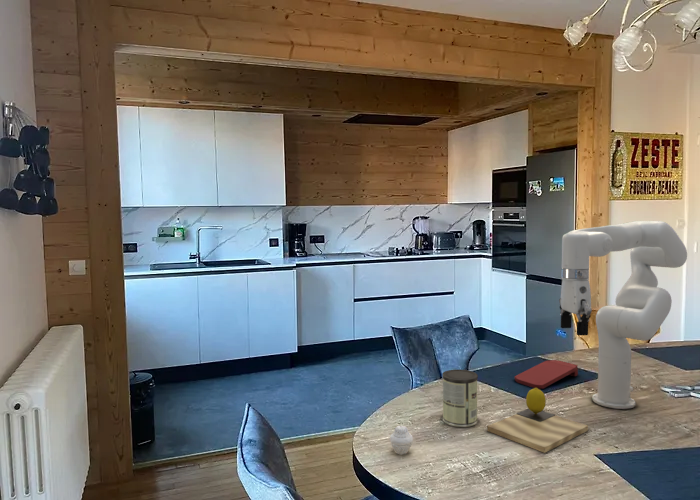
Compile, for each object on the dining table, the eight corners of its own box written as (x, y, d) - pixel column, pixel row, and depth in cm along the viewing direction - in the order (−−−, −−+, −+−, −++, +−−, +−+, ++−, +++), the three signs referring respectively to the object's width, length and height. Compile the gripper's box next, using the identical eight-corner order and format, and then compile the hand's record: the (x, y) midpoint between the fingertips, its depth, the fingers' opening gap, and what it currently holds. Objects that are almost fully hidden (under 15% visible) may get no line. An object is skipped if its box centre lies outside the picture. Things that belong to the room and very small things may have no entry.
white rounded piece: (396, 459, 135) (396, 432, 134) (385, 449, 140) (385, 423, 140) (417, 454, 137) (417, 427, 137) (405, 445, 143) (405, 419, 142)
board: (531, 412, 165) (531, 407, 165) (587, 430, 151) (587, 424, 151) (487, 431, 152) (487, 425, 151) (544, 453, 138) (544, 446, 137)
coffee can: (445, 412, 166) (445, 367, 165) (479, 416, 163) (479, 370, 162) (439, 424, 156) (439, 377, 155) (475, 429, 153) (475, 381, 152)
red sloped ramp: (541, 399, 187) (582, 376, 200) (540, 386, 186) (582, 363, 199) (513, 390, 197) (554, 368, 210) (512, 377, 196) (553, 356, 209)
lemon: (546, 418, 156) (547, 391, 156) (527, 416, 157) (527, 390, 157) (543, 411, 162) (544, 385, 161) (524, 410, 163) (525, 384, 162)
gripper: (603, 277, 150) (601, 337, 151) (572, 271, 167) (571, 325, 168) (577, 278, 149) (576, 338, 150) (549, 271, 166) (548, 325, 168)
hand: (573, 331), depth 159 cm, fingers open, 9 cm apart
